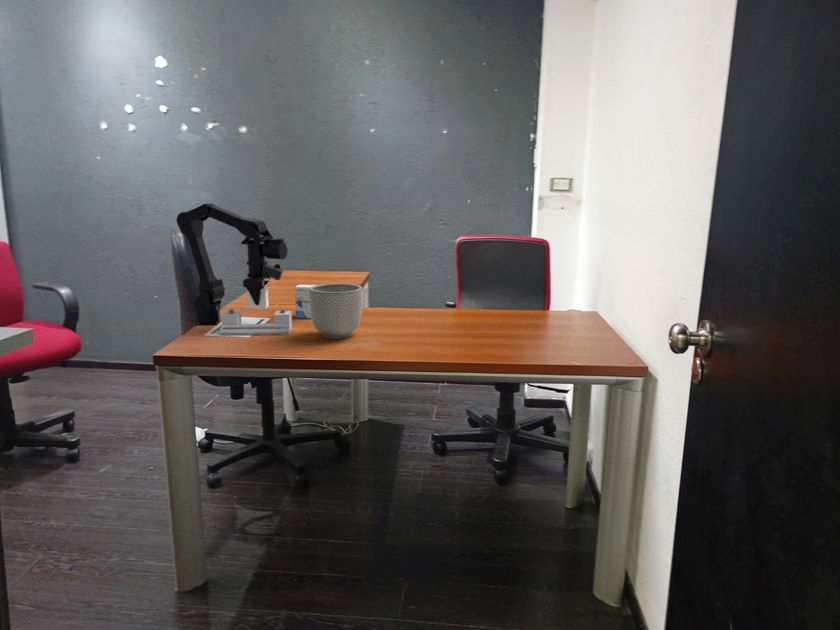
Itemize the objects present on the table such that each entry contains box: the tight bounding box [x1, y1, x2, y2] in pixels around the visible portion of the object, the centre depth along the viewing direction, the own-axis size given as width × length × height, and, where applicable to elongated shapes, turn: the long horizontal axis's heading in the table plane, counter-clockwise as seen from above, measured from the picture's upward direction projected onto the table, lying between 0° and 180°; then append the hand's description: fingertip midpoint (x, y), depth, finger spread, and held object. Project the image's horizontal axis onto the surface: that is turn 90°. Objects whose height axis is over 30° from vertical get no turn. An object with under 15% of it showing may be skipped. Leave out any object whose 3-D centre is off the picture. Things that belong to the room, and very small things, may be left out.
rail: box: [219, 323, 291, 336], centre depth 204 cm, size 22×3×3 cm, turn 94°
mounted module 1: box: [220, 308, 242, 325], centre depth 208 cm, size 5×6×7 cm
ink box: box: [294, 284, 316, 319], centre depth 228 cm, size 9×5×12 cm, turn 84°
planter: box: [309, 282, 364, 340], centre depth 201 cm, size 17×17×16 cm
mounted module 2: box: [273, 308, 293, 332], centre depth 209 cm, size 5×6×7 cm
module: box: [246, 288, 269, 310], centre depth 211 cm, size 6×5×7 cm
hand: (258, 303), depth 211 cm, fingers closed on module, 5 cm apart
